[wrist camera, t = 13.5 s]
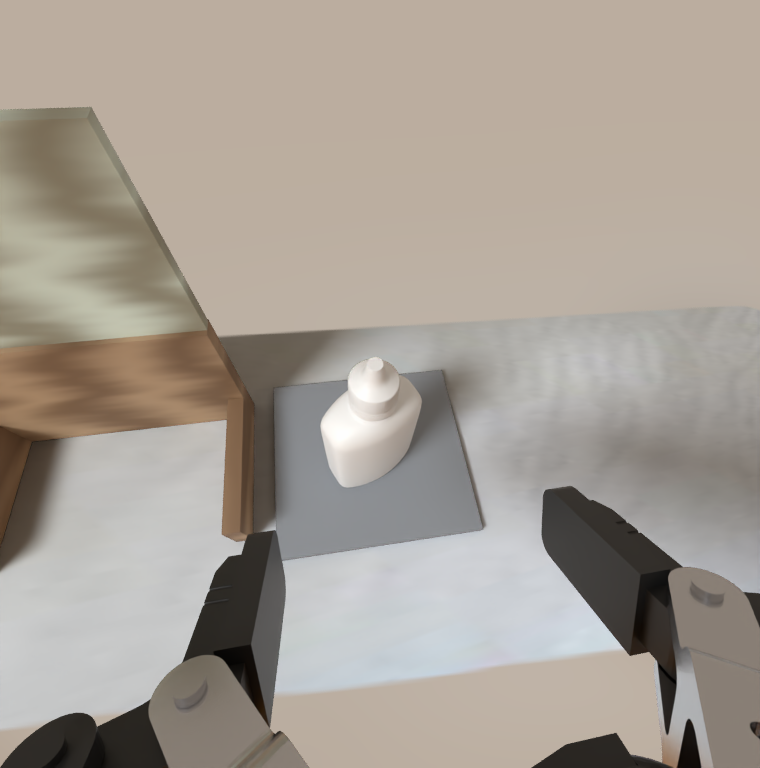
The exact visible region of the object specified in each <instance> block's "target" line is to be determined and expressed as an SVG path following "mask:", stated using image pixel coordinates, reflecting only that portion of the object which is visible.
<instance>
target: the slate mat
mask: <svg viewBox="0 0 760 768" xmlns="http://www.w3.org/2000/svg"><path fill="white" fill-rule="evenodd" d="M399 375H401V376H404V377H405V378H407V379H408V380H409V381H410V382H411V383H412V385H413V386H414V387H415V388H416V390H417V391H418V393H419V394H420V396H421V399H422V404H421V409H420V413H419V417H418V420H417V424H416V427H415V430H414V433H413V437H412V440H411V443H410V446H409V449H408V450H407V452H406V454H405V455H404V457H403V458H402V459H401V460H400V462H399V463H398V464H397V465H396V466H395V467H394V468H393V469H391V470H390V471H389V472H388V473H386V474H385V475H384V476H382V477H380V478H378V479H377V480H374V481H372V482H370V483H367V484H364V485H361V486H356V487H350V488H347V487H343V486H341V485H340V484H339V482H338V481H337V479H336V478H335V476H334V474H333V473H332V471H331V469H330V467H329V464H328V460H327V455H326V451H325V447H324V442H323V438H322V433H321V427H320V425H321V421H322V418H323V417H324V415H325V413H326V412H327V411H328V409H329V408H330V407H331V406H332V404H333V403H334V402H335V401H336V400H337V399H338V398H339V397H340V396H341V395H342V394H344V393H345V392H346V391H347V390H348V380H343V381H333V382H324V383H315V384H305V385H296V386H286V387H277V388H274V440H275V497H276V533H277V536H278V542H279V547H280V553H281V558H282V561H284V560H291V559H297V558H304V557H310V556H317V555H323V554H330V553H336V552H343V551H349V550H356V549H362V548H369V547H375V546H382V545H389V544H395V543H402V542H408V541H415V540H421V539H428V538H434V537H441V536H447V535H454V534H460V533H467V532H473V531H480V530H483V527H482V523H481V519H480V515H479V512H478V508H477V504H476V500H475V496H474V492H473V489H472V485H471V481H470V477H469V473H468V469H467V465H466V462H465V458H464V454H463V450H462V446H461V442H460V439H459V435H458V431H457V427H456V423H455V419H454V416H453V412H452V408H451V404H450V400H449V396H448V393H447V389H446V385H445V381H444V377H443V373H442V370H437V371H428V372H418V373H409V374H399Z"/></svg>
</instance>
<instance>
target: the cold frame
mask: <svg viewBox="0 0 760 768" xmlns="http://www.w3.org/2000/svg"><path fill="white" fill-rule="evenodd" d="M219 420H227V429H226V451H225V473H224V494H223V516H222V535H224V536H226V537H228V538H230V539H232V540H234V541H236V542H238V541H245V540H246V538H247V535H248V534H253V493H254V403H253V401H252V399H251V397H250V395H249V394H248V392H247V390H246V388H245V386H244V384H243V383H242V381H241V379H240V377H239V375H238V373H237V371H236V370H235V368H234V366H233V364H232V362H231V360H230V359H229V357H228V355H227V353H226V351H225V349H224V348H223V346H222V344H221V342H220V340H219V338H218V336H217V335H216V333H215V331H214V329H213V327H212V325H211V324H210V322H209V320H208V319H207V318H206V316H205V314H204V313H203V311H202V309H201V307H200V305H199V303H198V302H197V300H196V298H195V296H194V294H193V292H192V291H191V289H190V287H189V285H188V283H187V281H186V280H185V278H184V276H183V274H182V272H181V271H180V269H179V267H178V265H177V263H176V261H175V260H174V258H173V256H172V254H171V252H170V250H169V249H168V247H167V245H166V243H165V241H164V239H163V237H162V236H161V234H160V232H159V230H158V228H157V226H156V225H155V223H154V221H153V219H152V217H151V216H150V214H149V212H148V210H147V208H146V206H145V205H144V203H143V201H142V199H141V197H140V195H139V194H138V192H137V190H136V188H135V186H134V184H133V183H132V181H131V179H130V177H129V175H128V174H127V172H126V170H125V168H124V166H123V164H122V163H121V161H120V159H119V157H118V155H117V153H116V151H115V150H114V148H113V146H112V144H111V142H110V140H109V139H108V137H107V135H106V133H105V131H104V130H103V128H102V126H101V124H100V122H99V121H98V119H97V117H96V115H95V113H94V111H93V109H92V108H91V107H82V108H81V107H80V108H46V109H13V110H12V109H10V110H0V546H1V543H2V540H3V536H4V533H5V530H6V526H7V523H8V520H9V516H10V513H11V510H12V506H13V503H14V500H15V496H16V493H17V490H18V486H19V483H20V480H21V476H22V473H23V470H24V466H25V463H26V460H27V456H28V453H29V450H30V446H31V443H32V442H34V441H43V440H51V439H60V438H69V437H78V436H87V435H96V434H104V433H113V432H122V431H131V430H140V429H148V428H157V427H166V426H175V425H184V424H193V423H201V422H210V421H219Z"/></svg>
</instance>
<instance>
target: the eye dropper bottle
mask: <svg viewBox="0 0 760 768" xmlns="http://www.w3.org/2000/svg"><path fill="white" fill-rule="evenodd" d="M421 404H422V399H421V396H420V394H419V393H418V391H417V390H416V388H415V387H414V386H413V385H412V383H411V382H410V381H409V380H408V379H407V378H405V377H404V376H401V375H399V374H398V372H397V370H396V368H394V366H392V365H391V364H390V363H388V362H386V361H383V360H381V359H380V358H378V357H372V358H370V359H367V360H364V361H362V362H359V363H358V364H357V365H355V366H354V367H353V368H352V370H351V372H350V373H349V377H348V390H347V391H346V392H345V393H344V394H342V395H341V396H340V397H339V398H338V399H337V400H336V401H335V402H334V403H333V404H332V406H331V407H330V408H329V409H328V411H327V412H326V413H325V415H324V417H323V418H322V421H321V425H320V427H321V433H322V438H323V442H324V447H325V451H326V455H327V460H328V464H329V467H330V469H331V471H332V473H333V474H334V476H335V478H336V479H337V481H338V482H339V484H340V485H341V486H343V487H347V488H350V487H356V486H361V485H364V484H367V483H370V482H372V481H374V480H377V479H378V478H380V477H382V476H384V475H385V474H386V473H388V472H389V471H390V470H391V469H393V468H394V467H395V466H396V465H397V464H398V463H399V462H400V460H401V459H402V458H403V457H404V455H405V454H406V452H407V450H408V449H409V446H410V443H411V440H412V437H413V433H414V430H415V427H416V424H417V420H418V417H419V413H420V409H421Z"/></svg>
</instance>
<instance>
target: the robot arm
mask: <svg viewBox="0 0 760 768" xmlns="http://www.w3.org/2000/svg"><path fill="white" fill-rule="evenodd" d="M542 540H543V544H544V547H545V549H546V551H547V553H548V554H549V556H550V557H551V558H552V560H553V561H554V562H555V563H556V565H557V566H558V567H559V568H560V570H561V571H562V572H563V573H564V575H565V576H566V577H567V578H568V580H569V581H570V582H571V583H572V584H573V586H574V587H575V588H576V589H577V591H578V592H579V593H580V594H581V596H582V597H583V598H584V599H585V601H586V602H587V603H588V604H589V606H590V607H591V608H592V609H593V611H594V612H595V613H596V614H597V616H598V617H599V618H600V619H601V621H602V622H603V623H604V624H605V626H606V627H607V628H608V629H609V631H610V632H611V633H612V634H613V636H614V637H615V638H616V639H617V641H618V642H619V643H620V644H621V645H622V647H623V648H624V649H625V650H626V652H627V653H628V654H629V655H630V656H631V655H636V654H641V653H646V652H650V653H651V655H652V656H653V657H654V658H655V664H654V676H655V685H656V696H657V705H658V714H659V724H660V733H661V743H662V763H661V762H658V761H655V760H653V759H649V758H645V757H641V756H636V755H630V754H629V752H628V751H627V749H626V747H625V746H624V744H623V743H622V741H621V740H620V738H619V736H618V735H617V733H614V734H609V735H605V736H601V737H596V738H592V739H588V740H583V741H579V742H575V743H570V744H567V745H565V746H563V747H562V748H560V749H559V750H557V751H556V752H554V753H553V754H551V755H550V756H548V757H547V758H545V759H544V760H542V761H541V762H540V763H538V764H536V765H535V766H533V767H532V768H760V594H759V593H747V592H742V591H741V590H740V589H739V588H738V587H737V586H736V585H734V584H733V583H731V582H730V581H728V580H727V579H725V578H723V577H721V576H719V575H717V574H714V573H712V572H709V571H706V570H702V569H698V568H691V567H682V566H681V565H680V564H679V563H677V562H676V561H675V560H674V559H672V558H671V557H670V556H669V555H667V554H666V553H665V552H664V551H663V550H661V549H660V548H659V547H658V546H656V545H655V544H654V543H653V542H651V541H650V540H649V539H648V538H647V537H645V536H644V535H643V534H642V533H638V530H637V529H635V528H634V527H633V526H632V525H631V524H629V523H626V520H624V519H623V518H622V517H621V516H619V515H618V514H617V513H616V512H615V511H613V510H612V509H610V508H608V507H606V506H604V505H602V504H600V503H598V502H596V501H594V500H591V501H590V500H588V499H587V498H586V497H585V496H584V495H583V494H581V493H580V492H579V491H578V490H577V489H575V488H574V487H572V486H568V487H561V488H555V489H548V490H546V491H545V492H544V495H543V513H542ZM209 589H210V591H209V592H208V594H207V597H206V599H205V602H204V603H205V605H204V606H203V608H202V610H201V613H200V616H199V619H198V621H197V624H196V627H195V630H194V632H193V635H192V638H191V640H190V643H189V646H188V649H187V651H186V654H185V657H184V660H183V662H182V663H181V664H180V665H178V666H177V667H176V668H174V669H173V670H172V671H171V672H169V673H168V674H167V675H166V676H165V677H164V679H163V680H162V681H161V682H160V683H159V685H158V686H157V688H156V689H155V691H154V693H153V695H152V698H151V699H150V700H149V701H147V702H146V703H144V704H143V705H141V706H139V707H137V708H135V709H133V710H131V711H129V712H127V713H125V714H123V715H121V716H119V717H116V718H115V719H112V720H110V721H109V722H106V723H104V724H102V725H100V726H98V727H97V726H96V723H95V721H94V719H93V718H92V717H91V716H89V715H88V714H84V713H73V714H68V715H65V716H62V717H59V718H57V719H55V720H53V721H51V722H49V723H47V724H45V725H44V726H42V727H41V728H39V729H38V730H36V731H35V732H34V733H33V734H31V735H30V736H29V737H28V738H26V739H25V740H24V741H23V742H22V743H21V744H20V745H19V746H18V747H17V748H16V749H15V750H14V751H13V752H12V753H11V754H10V755H9V757H8V758H7V759H6V760H5V762H4V763H3V765H2V766H1V767H0V768H309V767H308V765H307V764H306V762H305V761H304V760H303V758H302V757H301V755H300V754H299V753H298V751H297V750H296V748H295V747H294V745H293V744H292V742H291V741H290V740H289V739H288V737H287V736H286V735H285V734H284V733H283V732H281V731H279V732H277V733H276V734H274V733H273V732H272V731H271V729H270V723H271V714H272V706H273V698H274V690H275V681H276V673H277V664H278V656H279V648H280V639H281V631H282V623H283V614H284V606H285V595H286V588H285V575H284V570H283V564H282V558H281V553H280V547H279V542H278V536H277V533H276V531H275V530H274V531H267V532H260V533H254V534H248V535H247V538H246V541H245V544H244V548H243V551H242V555H236V556H230V557H228V558H227V559H226V560H225V561H224V563H223V564H222V565H221V566H220V567H219V568H218V570H217V571H216V572H215V575H214V578H213V580H212V583H211V586H210V588H209Z"/></svg>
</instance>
